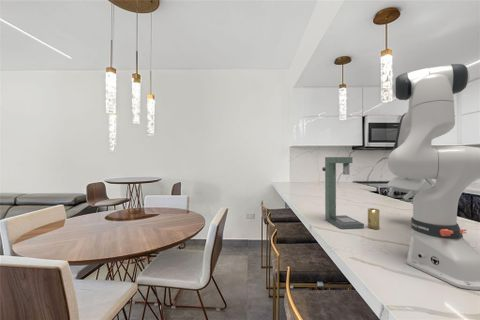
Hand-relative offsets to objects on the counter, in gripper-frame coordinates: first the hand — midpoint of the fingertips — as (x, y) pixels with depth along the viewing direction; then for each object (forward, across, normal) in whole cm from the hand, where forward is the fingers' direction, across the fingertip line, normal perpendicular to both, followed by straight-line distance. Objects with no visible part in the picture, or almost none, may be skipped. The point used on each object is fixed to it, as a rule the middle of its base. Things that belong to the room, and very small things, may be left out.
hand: (396, 197), depth 112 cm
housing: (+19, 0, +2) cm, 19 cm away
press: (+27, -11, -6) cm, 30 cm away
